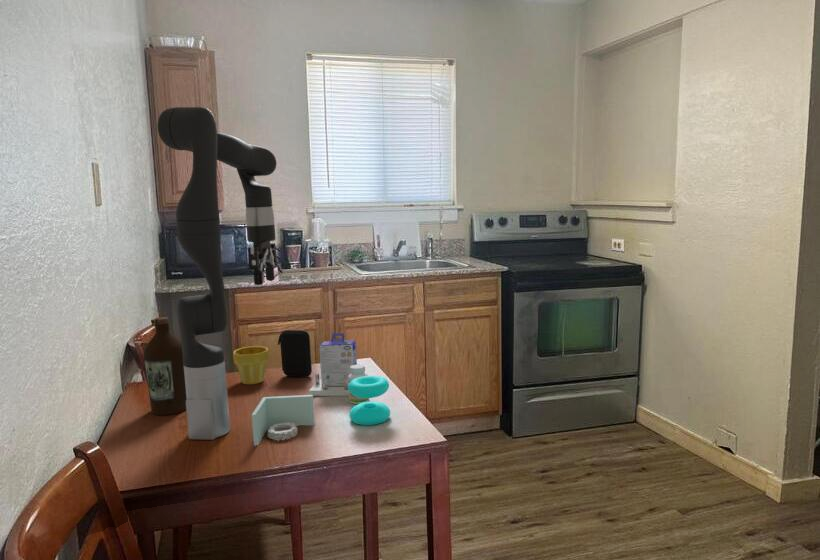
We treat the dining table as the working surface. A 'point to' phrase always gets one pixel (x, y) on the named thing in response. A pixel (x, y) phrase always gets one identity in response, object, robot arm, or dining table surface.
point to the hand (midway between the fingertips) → (264, 282)
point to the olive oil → (165, 371)
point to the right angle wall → (282, 416)
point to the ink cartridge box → (337, 359)
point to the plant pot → (251, 363)
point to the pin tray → (328, 388)
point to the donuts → (369, 410)
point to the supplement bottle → (355, 373)
